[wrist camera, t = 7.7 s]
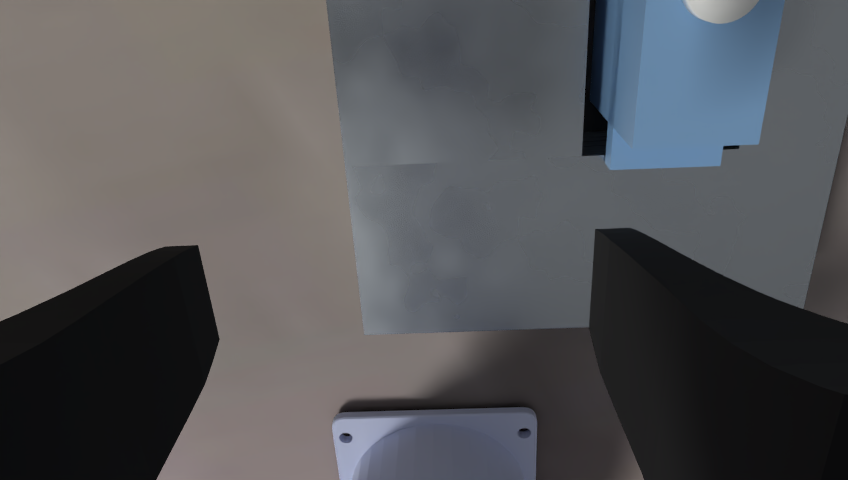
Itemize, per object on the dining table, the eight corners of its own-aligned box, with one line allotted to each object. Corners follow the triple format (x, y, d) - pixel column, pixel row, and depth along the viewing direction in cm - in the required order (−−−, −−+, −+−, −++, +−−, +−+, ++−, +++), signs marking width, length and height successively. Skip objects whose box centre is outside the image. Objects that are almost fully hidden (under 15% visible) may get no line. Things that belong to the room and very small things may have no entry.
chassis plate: (766, 283, 23) (802, 321, 20) (371, 297, 23) (364, 336, 21) (878, -285, 16) (949, -320, 14) (314, -242, 17) (294, -270, 14)
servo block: (682, 133, 21) (759, 198, 16) (587, 137, 21) (632, 202, 16) (716, -134, 17) (826, -160, 12) (603, -128, 17) (668, -151, 13)
